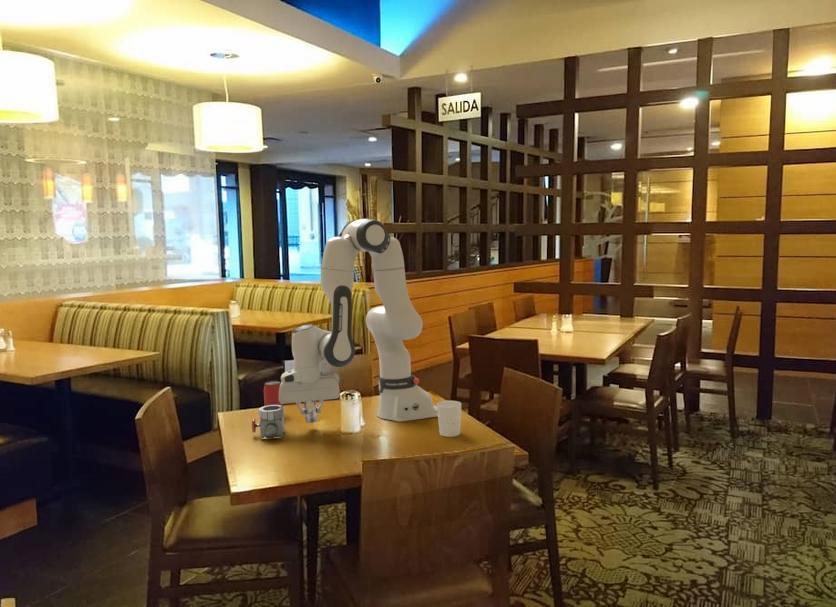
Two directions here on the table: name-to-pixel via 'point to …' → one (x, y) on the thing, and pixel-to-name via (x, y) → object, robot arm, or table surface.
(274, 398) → the beer can
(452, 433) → the white cup
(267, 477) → the table surface
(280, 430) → the valve body
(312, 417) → the pipe nipple
